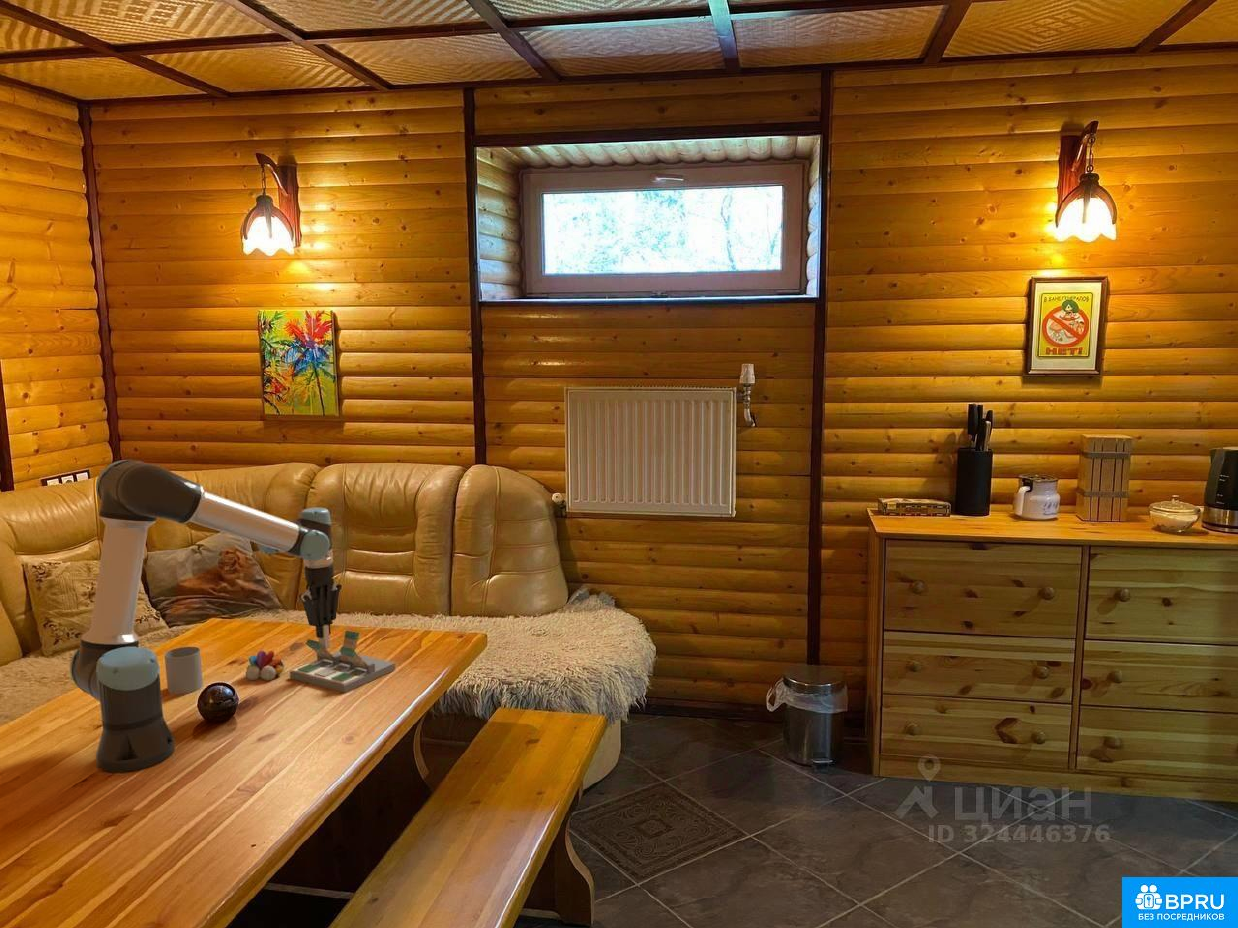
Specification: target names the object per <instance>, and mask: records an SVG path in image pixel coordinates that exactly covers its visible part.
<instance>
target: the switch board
mask: <svg viewBox="0 0 1238 928" xmlns="http://www.w3.org/2000/svg"><path fill="white" fill-rule="evenodd" d="M330 654H331V655H333V657H332V658H333V661H330V660H326V659H323V658H322V657H321V656H319V655H318V654H317V653H316V658H317V659H316V660H314V661H312V662H309V663H306V664H304V665H301V666H298V667H297V668H294V669H292V670H290V671H289V678H290V679H291V680H292V679H293V680H294V681H295V680H296V681H298V682H299V681H300V682H303V683H306V684H312V685H315V686H319V687H321V688H326V689H330V690H333V691H337V692H340V693H345V694H346V693H348V692H350V691H352V690H354V689H356V688H359V687H361V686H363V685H365V684H368V683H370V682H372V681H374V680H377V679H379V678H380V677H383V676H385V675H388V674H389V673H392V672H394V671H396V662H393V661H388V660H384V659H379V658H375V657H373V656H368V655H363V654H358V653H356V654H357V655H358V656H359V657H360V658H361V659H362V660H363V661H364V662H365V663H366V664H367V665H366V666H367V669H363V668H359V667H356V666H355V665H354V664H353V663H352V662H351V661H349V665H347V664H343V663H339V662H338V661H339V659H340V656H341V652H340V650H339V651H338V650H337V652H333V653H330Z"/></svg>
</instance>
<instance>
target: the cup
mask: <svg viewBox="0 0 1238 928" xmlns="http://www.w3.org/2000/svg"><path fill="white" fill-rule="evenodd" d="M201 654H202V653H201V648H200V647H198V646H181V647H177V648H173V649H170V650H168V651H166V652H165V653H164V661H165V673H166V685H167V692H168V694H170V695H175V696H176V695H177V696H181V695H188V694H190V693H191V694H192V693H195V692H197V691H199V690H201V689H202V688H203V687H204V679H203V670H202V658H201V657H202V656H201Z"/></svg>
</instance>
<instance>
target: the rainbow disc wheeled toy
mask: <svg viewBox="0 0 1238 928" xmlns="http://www.w3.org/2000/svg"><path fill="white" fill-rule="evenodd" d="M274 657H275V652H274V650H270V651H269V652H268V653H266V651H265V650H259V651H258V652H257V654H256V655H251V656H250V657H249V658H248V663H249V665H248V666H247V667H246V670H245V676H246V678H247V679H248V680H249V681H257V680H259V679H260V678H261V679H263V680H265V681H271V680H273V679H275V677H276V675H279V674H281V673H283V671H284V668H285V663H284V661H283V659H282V657H280V656H279V657H277V658H274Z"/></svg>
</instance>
